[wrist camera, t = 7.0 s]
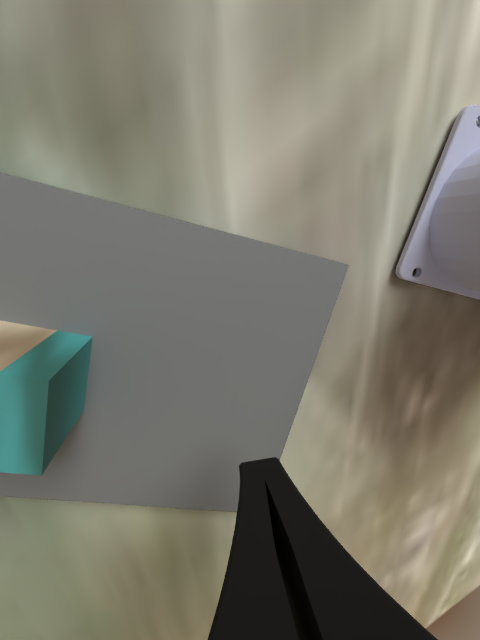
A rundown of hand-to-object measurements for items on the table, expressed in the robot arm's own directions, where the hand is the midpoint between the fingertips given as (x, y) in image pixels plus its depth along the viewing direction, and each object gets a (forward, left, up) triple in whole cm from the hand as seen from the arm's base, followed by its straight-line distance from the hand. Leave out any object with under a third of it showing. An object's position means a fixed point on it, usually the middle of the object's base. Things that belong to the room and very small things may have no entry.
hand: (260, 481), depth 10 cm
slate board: (+8, 0, -6) cm, 10 cm away
